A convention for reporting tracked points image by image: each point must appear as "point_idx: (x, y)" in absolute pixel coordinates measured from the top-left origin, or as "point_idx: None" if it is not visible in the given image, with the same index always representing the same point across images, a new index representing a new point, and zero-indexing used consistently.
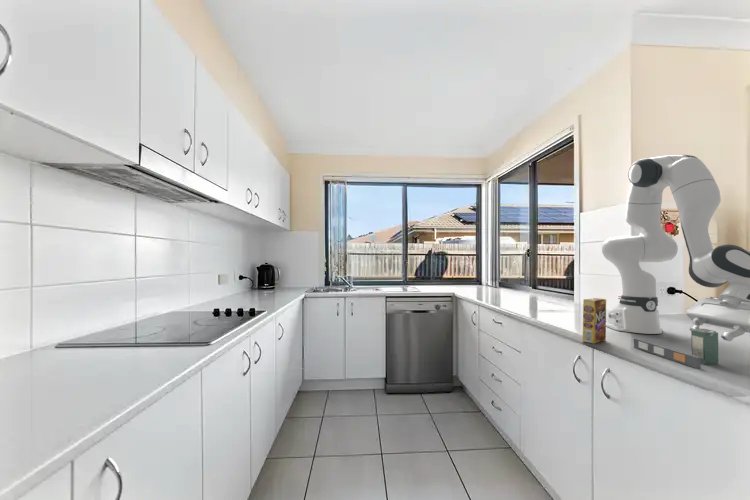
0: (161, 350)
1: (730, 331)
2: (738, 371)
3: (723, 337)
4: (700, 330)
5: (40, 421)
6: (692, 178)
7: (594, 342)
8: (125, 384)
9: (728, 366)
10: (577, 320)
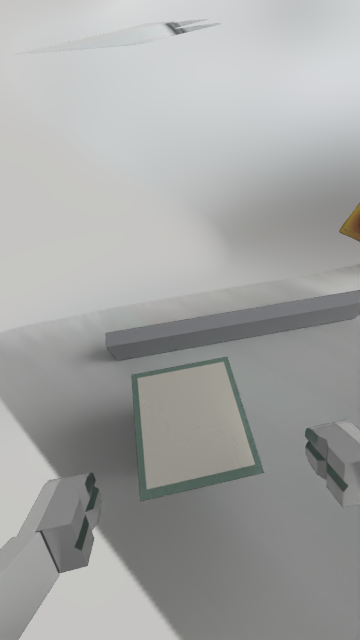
0: (165, 35)
1: (12, 556)
2: None
3: (76, 477)
4: (168, 371)
5: (57, 46)
6: None
7: (343, 230)
8: (99, 44)
9: None
10: None
